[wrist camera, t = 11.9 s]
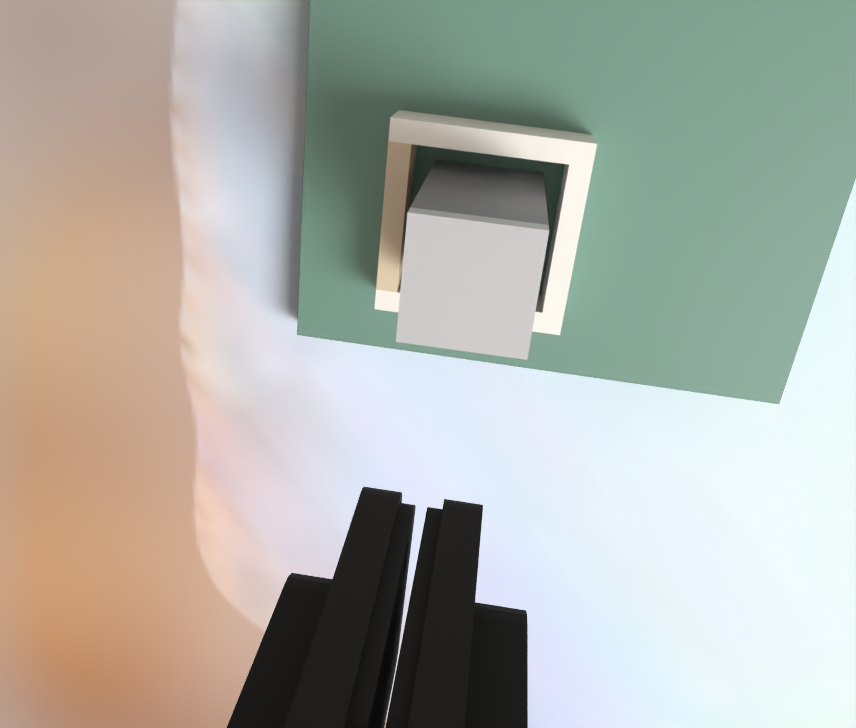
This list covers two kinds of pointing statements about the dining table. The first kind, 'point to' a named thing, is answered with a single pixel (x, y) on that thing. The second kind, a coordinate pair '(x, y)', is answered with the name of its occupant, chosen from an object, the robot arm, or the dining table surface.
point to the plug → (473, 259)
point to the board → (593, 171)
